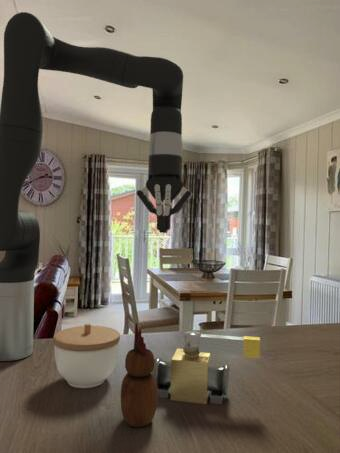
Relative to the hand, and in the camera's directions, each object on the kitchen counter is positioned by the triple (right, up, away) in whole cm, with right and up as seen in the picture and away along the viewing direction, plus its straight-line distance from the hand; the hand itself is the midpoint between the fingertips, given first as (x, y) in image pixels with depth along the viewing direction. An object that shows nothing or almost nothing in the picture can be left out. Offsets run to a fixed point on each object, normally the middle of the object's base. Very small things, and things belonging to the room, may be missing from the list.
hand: (163, 232), depth 86 cm
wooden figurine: (-4, -30, -26) cm, 39 cm away
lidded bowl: (-15, -29, -11) cm, 34 cm away
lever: (+11, -22, -17) cm, 29 cm away
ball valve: (+5, -29, -16) cm, 34 cm away
